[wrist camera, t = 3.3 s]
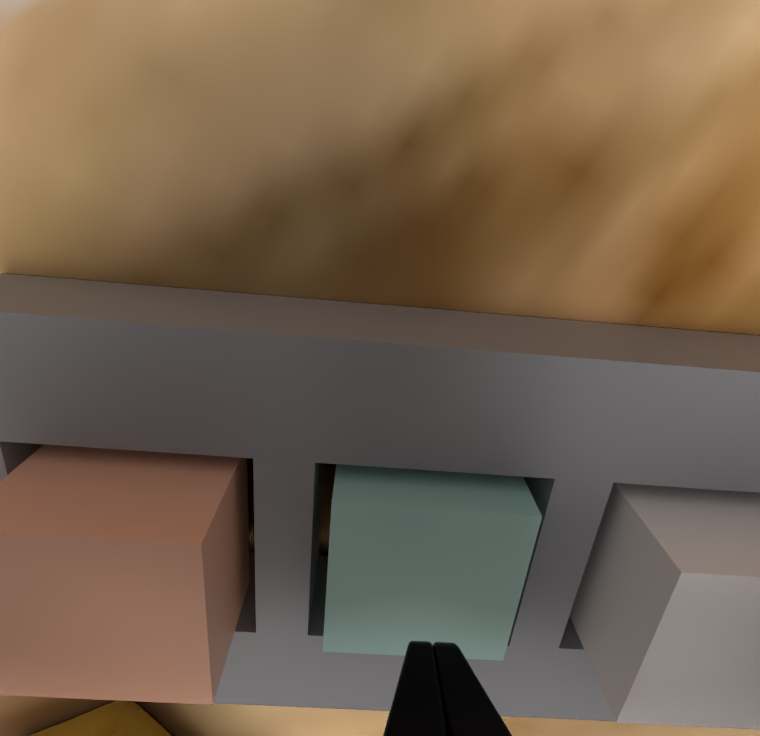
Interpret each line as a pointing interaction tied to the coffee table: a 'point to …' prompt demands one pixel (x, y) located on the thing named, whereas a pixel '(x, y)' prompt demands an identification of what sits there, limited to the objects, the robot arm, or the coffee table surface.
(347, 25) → the coffee table surface
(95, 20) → the coffee table surface
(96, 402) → the keyguard frame
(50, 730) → the flower pot
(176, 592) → the key
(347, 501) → the key
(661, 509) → the key
